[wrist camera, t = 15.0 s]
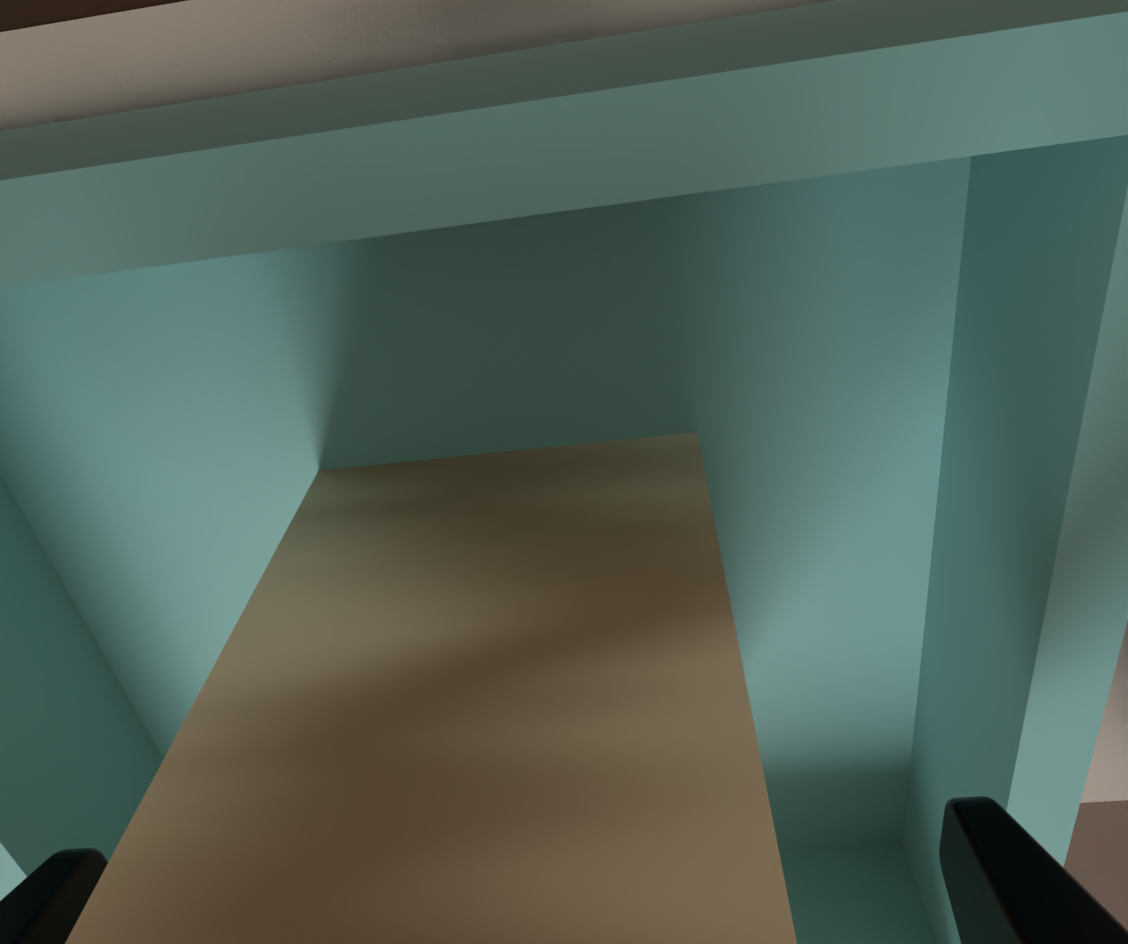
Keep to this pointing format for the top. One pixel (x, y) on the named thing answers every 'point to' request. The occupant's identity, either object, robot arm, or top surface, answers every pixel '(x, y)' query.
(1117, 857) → the top surface
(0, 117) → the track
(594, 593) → the part
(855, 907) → the teal storage bin
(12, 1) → the top surface
